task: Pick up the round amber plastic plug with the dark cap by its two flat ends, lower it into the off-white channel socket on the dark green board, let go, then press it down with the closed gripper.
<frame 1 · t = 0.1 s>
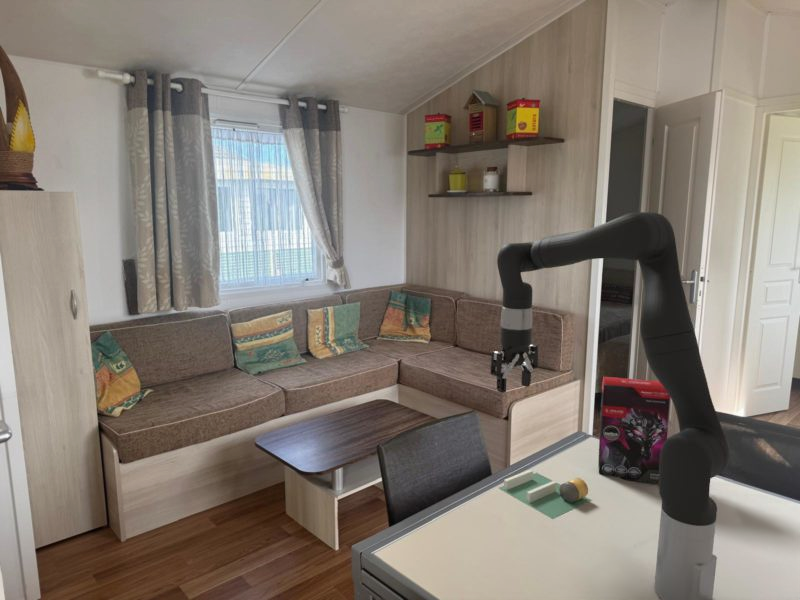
hand: (513, 388, 140), 29 cm above the table, tool pointing down, fingers open, 8 cm apart
amber plug: (573, 499, 143), point 1 cm above the table, touching green board
green board: (543, 496, 145), on the table
graphics card box: (629, 476, 157), on the table
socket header: (529, 492, 147), resting on green board
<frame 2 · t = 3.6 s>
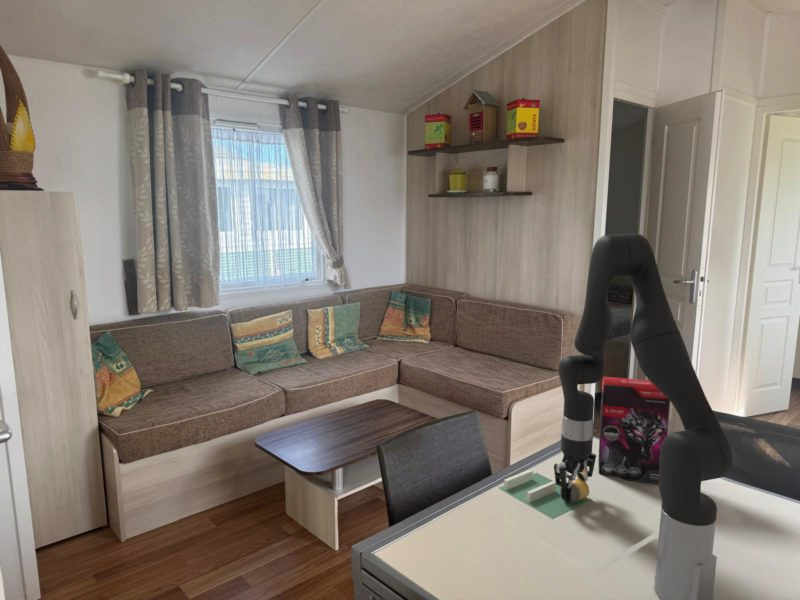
hand: (573, 496, 143), 1 cm above the table, tool pointing down, fingers closed on amber plug, 5 cm apart
amber plug: (573, 499, 143), point 1 cm above the table, tilted 9°, touching green board, gripper
everything else where it was.
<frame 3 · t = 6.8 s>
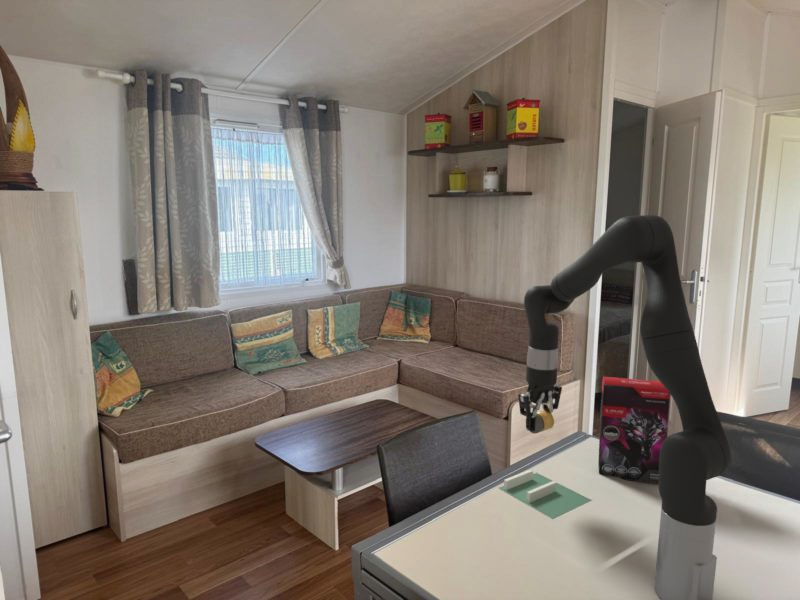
hand: (538, 427, 144), 18 cm above the table, tool pointing down, fingers closed on amber plug, 5 cm apart
amber plug: (538, 430, 144), point 17 cm above the table, tilted 9°, touching gripper
everything else where it was.
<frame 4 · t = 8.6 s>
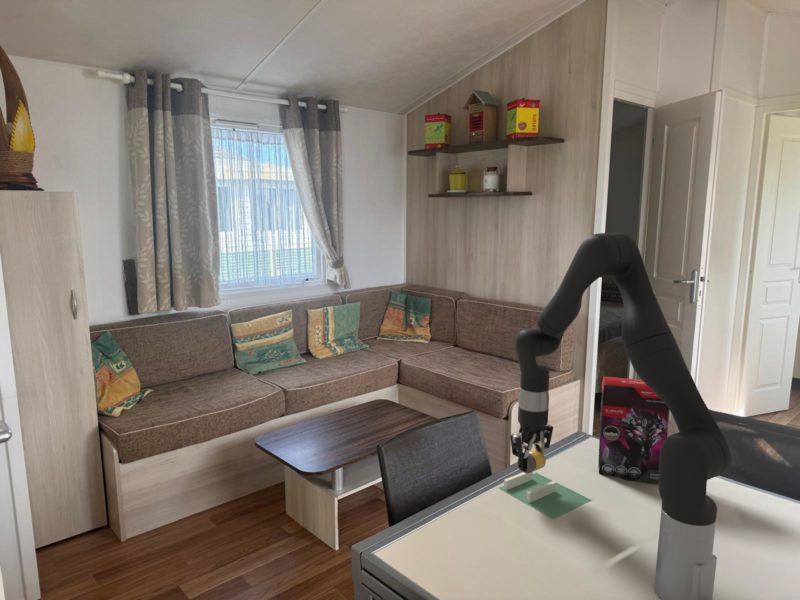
hand: (530, 467, 146), 7 cm above the table, tool pointing down, fingers closed on amber plug, 5 cm apart
amber plug: (530, 469, 146), point 7 cm above the table, tilted 9°, touching gripper
everything else where it was.
when the fingers open (2 cm above the table, at t = 10.0 s): amber plug stays where it is, resting on green board.
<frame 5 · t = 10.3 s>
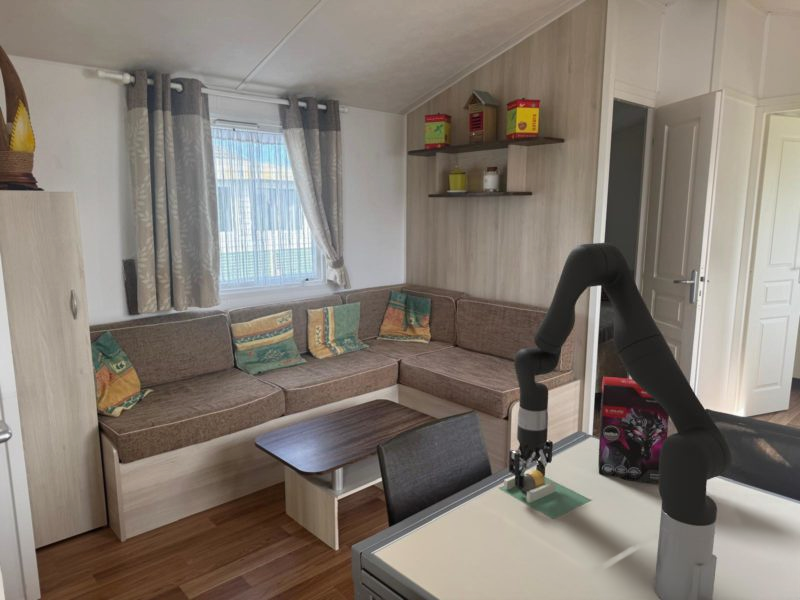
hand: (529, 483, 147), 3 cm above the table, tool pointing down, fingers open, 7 cm apart
amber plug: (529, 489, 147), point 1 cm above the table, tilted 10°, touching green board
everything else where it was.
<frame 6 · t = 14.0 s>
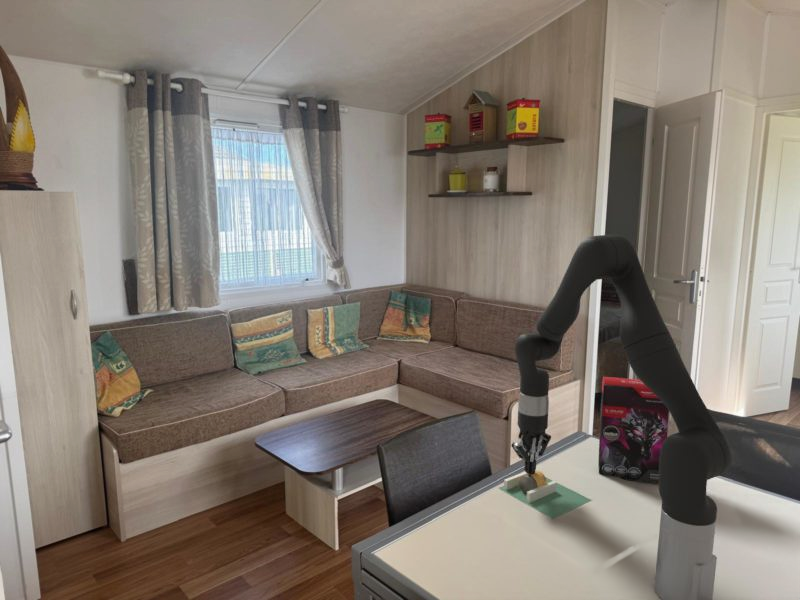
hand: (530, 472, 146), 6 cm above the table, tool pointing down, fingers closed
amber plug: (529, 489, 147), point 1 cm above the table, tilted 22°, touching green board, gripper
everything else where it was.
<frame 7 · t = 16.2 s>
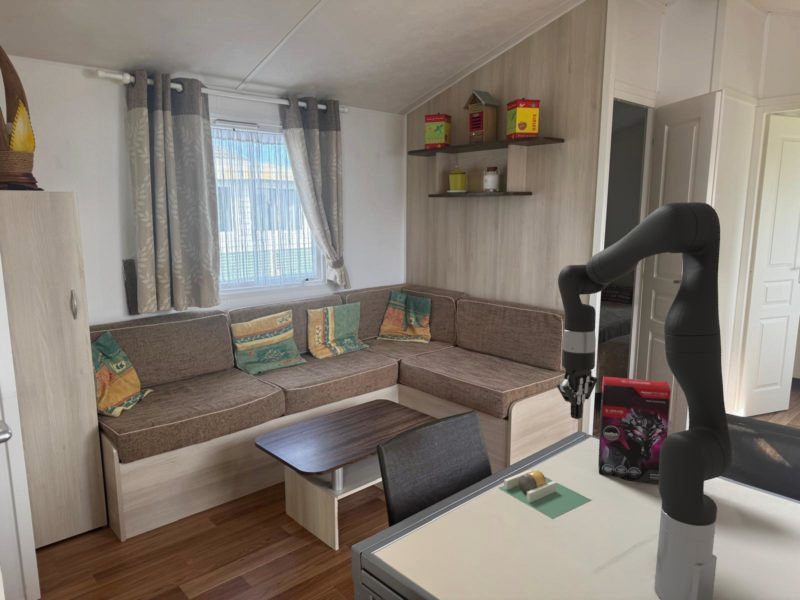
hand: (576, 417, 137), 23 cm above the table, tool pointing down, fingers closed
amber plug: (529, 489, 147), point 1 cm above the table, tilted 18°, touching green board
everything else where it was.
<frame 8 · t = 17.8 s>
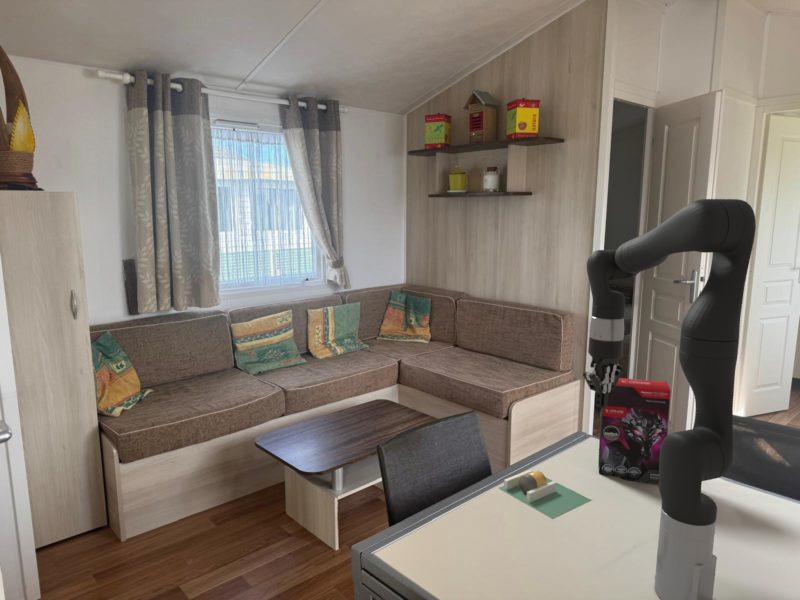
hand: (601, 406, 134), 27 cm above the table, tool pointing down, fingers closed
nothing on the table moved.
at the end: amber plug 0.0 cm off-centre on the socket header, point 1.0 cm above the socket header's base; amber plug touching green board; the gripper is holding nothing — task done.
